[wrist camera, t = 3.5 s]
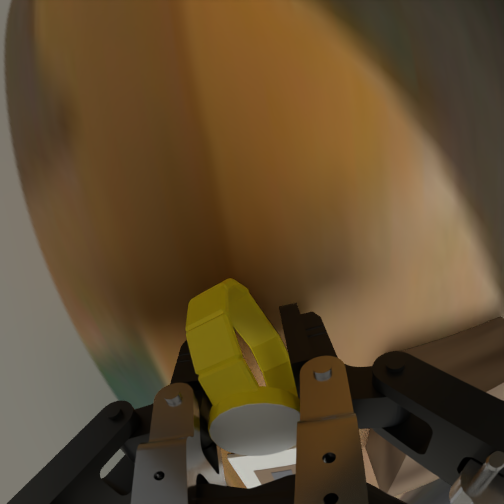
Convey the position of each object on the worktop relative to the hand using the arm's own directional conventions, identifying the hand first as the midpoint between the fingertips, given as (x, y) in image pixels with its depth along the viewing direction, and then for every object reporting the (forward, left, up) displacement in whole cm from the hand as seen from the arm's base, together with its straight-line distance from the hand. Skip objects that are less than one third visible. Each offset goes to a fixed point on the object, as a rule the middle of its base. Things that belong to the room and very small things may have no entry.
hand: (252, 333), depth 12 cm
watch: (0, 0, -1) cm, 1 cm away
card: (+14, -1, -1) cm, 14 cm away
